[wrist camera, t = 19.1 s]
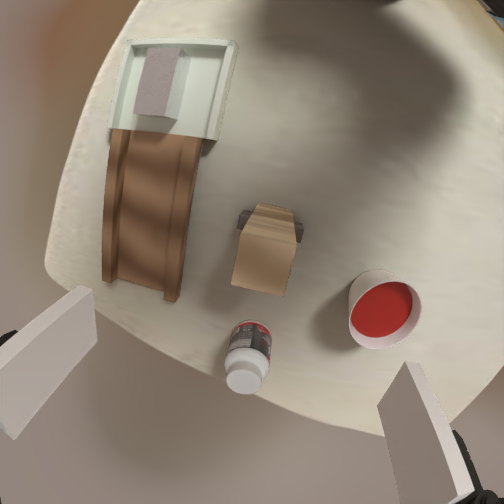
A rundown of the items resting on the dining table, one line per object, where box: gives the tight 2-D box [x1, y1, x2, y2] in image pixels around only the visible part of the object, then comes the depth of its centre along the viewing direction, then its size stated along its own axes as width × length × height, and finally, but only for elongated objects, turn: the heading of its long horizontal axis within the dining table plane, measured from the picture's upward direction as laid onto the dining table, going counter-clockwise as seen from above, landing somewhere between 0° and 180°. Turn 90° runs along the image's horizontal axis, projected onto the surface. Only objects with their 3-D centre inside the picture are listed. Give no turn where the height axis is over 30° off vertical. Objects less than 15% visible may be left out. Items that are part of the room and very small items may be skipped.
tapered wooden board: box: [231, 203, 304, 297], centre depth 27 cm, size 4×7×14 cm, turn 78°
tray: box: [107, 38, 239, 141], centre depth 29 cm, size 12×14×2 cm
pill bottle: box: [224, 320, 272, 394], centre depth 35 cm, size 5×5×10 cm
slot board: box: [102, 128, 203, 303], centre depth 34 cm, size 20×11×3 cm, turn 168°
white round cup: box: [348, 269, 422, 349], centre depth 32 cm, size 9×9×6 cm
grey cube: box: [140, 48, 192, 88], centre depth 27 cm, size 4×4×4 cm
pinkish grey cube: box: [133, 80, 185, 120], centre depth 28 cm, size 4×4×4 cm
